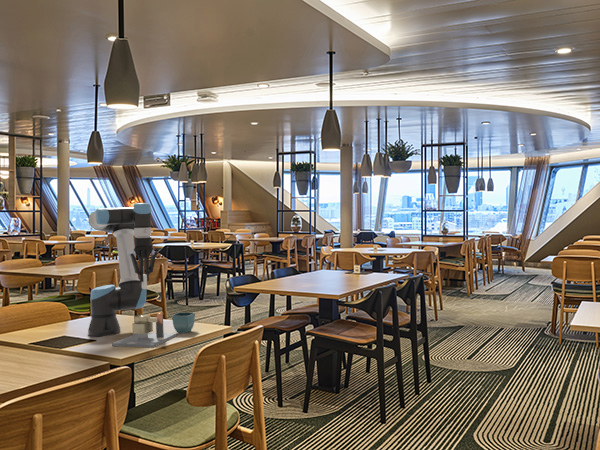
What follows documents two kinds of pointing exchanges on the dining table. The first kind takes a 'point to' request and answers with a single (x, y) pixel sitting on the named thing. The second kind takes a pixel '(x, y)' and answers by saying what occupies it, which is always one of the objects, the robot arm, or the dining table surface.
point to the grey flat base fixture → (145, 338)
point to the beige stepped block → (145, 323)
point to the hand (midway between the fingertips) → (144, 288)
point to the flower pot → (183, 322)
